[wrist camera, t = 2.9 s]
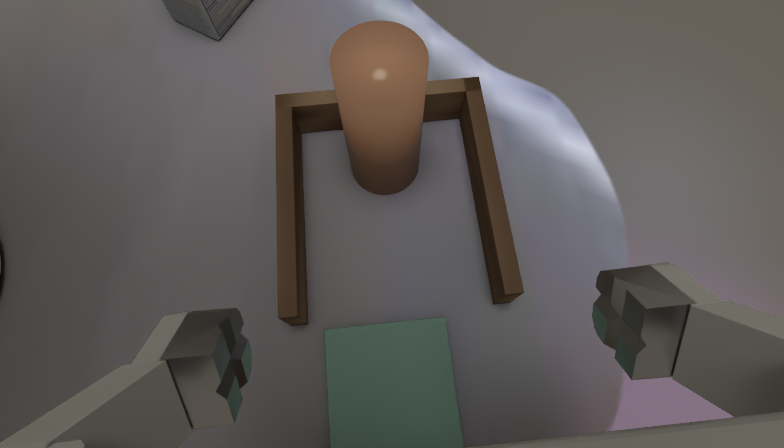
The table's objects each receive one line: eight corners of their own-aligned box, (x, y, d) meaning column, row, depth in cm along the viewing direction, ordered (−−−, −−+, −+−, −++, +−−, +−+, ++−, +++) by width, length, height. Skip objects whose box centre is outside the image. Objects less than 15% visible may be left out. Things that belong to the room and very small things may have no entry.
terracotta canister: (353, 197, 28) (332, 104, 19) (349, 138, 30) (327, 24, 21) (422, 191, 28) (435, 95, 19) (414, 132, 30) (422, 16, 21)
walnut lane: (290, 325, 26) (278, 317, 23) (286, 121, 30) (275, 94, 28) (509, 302, 26) (524, 292, 23) (471, 105, 31) (478, 76, 28)
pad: (335, 532, 22) (334, 534, 22) (325, 330, 25) (324, 329, 25) (472, 515, 22) (474, 518, 22) (444, 317, 26) (445, 316, 25)
